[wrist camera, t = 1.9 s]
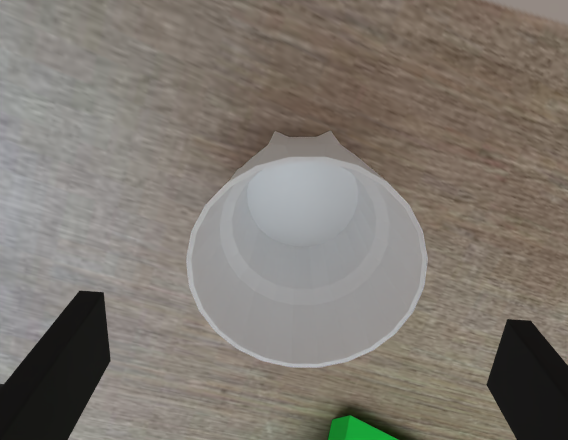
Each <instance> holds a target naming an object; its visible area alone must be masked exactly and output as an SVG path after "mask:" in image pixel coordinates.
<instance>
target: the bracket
mask: <svg viewBox="0 0 568 440" xmlns="http://www.w3.org/2000/svg"><path fill="white" fill-rule="evenodd" d="M328 440H398V439H396V438H394V437H392V436H390V435H388V434H386V433H384V432H382V431H380V430H378V429H376V428H374V427H372V426H370V425H368V424H366V423H364V422H362V421H360V420H358V419H356V418H354V417H353V416H351V415H349V416H345V417H341V418H337V419H333V420H332V423H331V428H330V432H329V437H328Z"/></svg>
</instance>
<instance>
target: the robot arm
mask: <svg viewBox="0 0 568 440" xmlns="http://www.w3.org/2000/svg"><path fill="white" fill-rule="evenodd" d="M109 362H110V351H109V341H108V331H107V321H106V312H105V302H104V292H91V291H79V292H78V293H77V295H76V296H75V297H74V298H73V300H72V301H71V302H70V303H69V304H68V306H67V307H66V308H65V309H64V311H63V312H62V313H61V314H60V316H59V317H58V318H57V319H56V321H55V322H54V323H53V324H52V326H51V327H50V328H49V329H48V330H47V332H46V333H45V334H44V335H43V337H42V338H41V339H40V340H39V342H38V343H37V344H36V345H35V347H34V348H33V349H32V350H31V352H30V353H29V354H28V355H27V356H26V358H25V359H24V360H23V361H22V363H21V364H20V365H19V366H18V368H17V369H16V370H15V371H14V373H13V374H12V375H11V376H10V378H9V379H8V380H7V381H6V382H5V384H0V440H68V438H69V436H70V434H71V432H72V430H73V429H74V427H75V425H76V423H77V421H78V419H79V418H80V416H81V414H82V412H83V410H84V408H85V407H86V405H87V403H88V401H89V399H90V397H91V395H92V394H93V392H94V390H95V388H96V386H97V384H98V383H99V381H100V379H101V377H102V375H103V373H104V372H105V370H106V368H107V366H108V364H109ZM487 386H488V388H489V390H490V392H491V394H492V395H493V397H494V399H495V401H496V403H497V404H498V406H499V408H500V410H501V412H502V413H503V415H504V417H505V419H506V421H507V422H508V424H509V426H510V428H511V430H512V432H513V433H514V435H515V437H516V439H517V440H568V365H567V364H566V363H565V362H564V361H563V359H562V358H561V357H560V356H559V354H558V353H557V352H556V351H555V350H554V348H553V347H552V346H551V345H550V344H549V342H548V341H547V340H546V339H545V338H544V336H543V335H542V334H541V333H540V332H539V330H538V329H537V328H536V327H535V325H534V324H533V323H532V322H531V321H526V320H511V319H507V322H506V325H505V328H504V332H503V335H502V338H501V341H500V344H499V347H498V350H497V353H496V357H495V360H494V363H493V366H492V369H491V372H490V375H489V379H488V382H487Z"/></svg>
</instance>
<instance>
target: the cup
mask: <svg viewBox="0 0 568 440" xmlns="http://www.w3.org/2000/svg"><path fill="white" fill-rule="evenodd" d="M427 262H428V257H427V252H426V246H425V240H424V234H423V230H422V228H421V226H420V224H419V222H418V221H417V219H416V217H415V215H414V213H413V211H412V209H411V207H410V205H409V204H408V203H407V202H406V201H405V200H404V199H403V198H402V197H401V196H400V194H399V193H398V192H397V191H396V190H395V189H394V188H393V187H392V186H391V185H390V184H389V183H388V182H387V181H386V180H385V179H383V178H382V177H381V176H380V175H379V174H378V173H376V172H375V171H374V170H373V169H372V168H370V167H369V166H368V165H367V164H366V163H365V162H363V161H362V160H361V159H360V158H359V157H357V156H356V155H354V154H353V153H352V152H350V151H349V150H348V149H346V148H345V147H344V146H342V145H341V144H340V143H339V141H338V140H337V139H336V137H335V136H334V134H333V133H332V132H331V130H330V131H328V132H326V133H324V134H321V135H319V136H317V137H288V136H286V135H283V134H281V133H279V132H277V131H275V132H274V134H273V136H272V138H271V140H270V142H269V144H268V145H267V146H266V147H265V148H263V149H262V150H261V151H260V152H258V153H257V154H256V155H254V156H253V157H252V158H251V159H250V160H249V161H248V162H247V163H246V164H245V165H244V166H243V167H241V168H238V169H237V170H236V172H235V173H234V175H233V176H232V178H231V179H230V180H229V181H228V182H227V183H226V184H225V185H224V186H223V187H222V188H221V189H220V190H219V191H218V192H217V193H216V194H215V195H214V196H213V197H212V198H211V199H210V200H209V202H208V203H207V204H206V205H205V207H204V208H203V210H202V212H201V214H200V216H199V218H198V220H197V222H196V223H195V225H194V227H193V229H192V231H191V236H190V241H189V246H188V252H187V257H186V263H187V272H188V281H189V287H190V290H191V292H192V295H193V297H194V299H195V302H196V304H197V307H198V309H199V311H200V313H201V314H202V315H203V316H204V318H205V319H206V320H207V322H208V323H209V324H210V325H211V327H212V328H213V329H214V331H215V332H216V333H217V334H219V335H220V336H221V337H222V338H224V339H225V340H226V341H228V342H229V343H230V344H231V345H233V346H234V347H235V348H237V349H238V350H240V351H242V352H244V353H247V354H249V355H251V356H253V357H255V358H257V359H260V360H262V361H265V362H269V363H274V364H278V365H283V366H287V367H324V366H329V365H334V364H339V363H344V362H348V361H350V360H352V359H355V358H357V357H359V356H361V355H364V354H366V353H368V352H370V351H373V350H374V349H376V348H377V347H378V346H380V345H381V344H382V343H384V342H385V341H386V340H388V339H389V338H390V337H392V336H393V335H394V334H396V332H397V331H398V330H399V329H400V327H401V326H402V325H403V324H404V323H405V321H406V320H407V319H408V318H409V316H410V315H411V314H412V313H413V311H414V309H415V307H416V304H417V302H418V300H419V297H420V295H421V293H422V291H423V288H424V285H425V277H426V269H427Z"/></svg>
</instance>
